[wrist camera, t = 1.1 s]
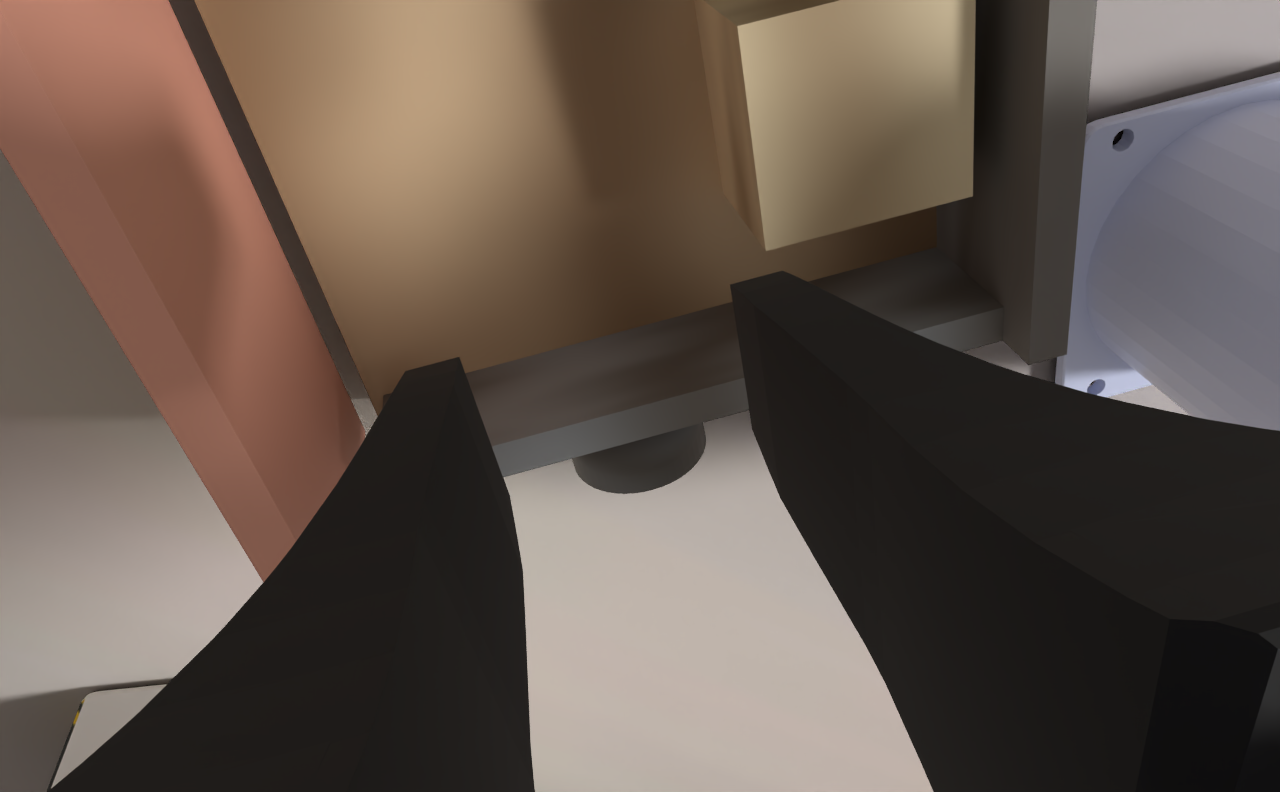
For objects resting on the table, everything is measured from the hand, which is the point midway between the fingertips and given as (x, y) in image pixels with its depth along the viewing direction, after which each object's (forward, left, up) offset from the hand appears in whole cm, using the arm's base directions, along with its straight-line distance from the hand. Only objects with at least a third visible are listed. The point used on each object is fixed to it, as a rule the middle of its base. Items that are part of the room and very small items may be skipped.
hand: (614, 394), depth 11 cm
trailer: (-2, 0, -10) cm, 11 cm away
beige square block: (-5, 0, -9) cm, 11 cm away
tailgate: (+5, 0, -9) cm, 11 cm away
